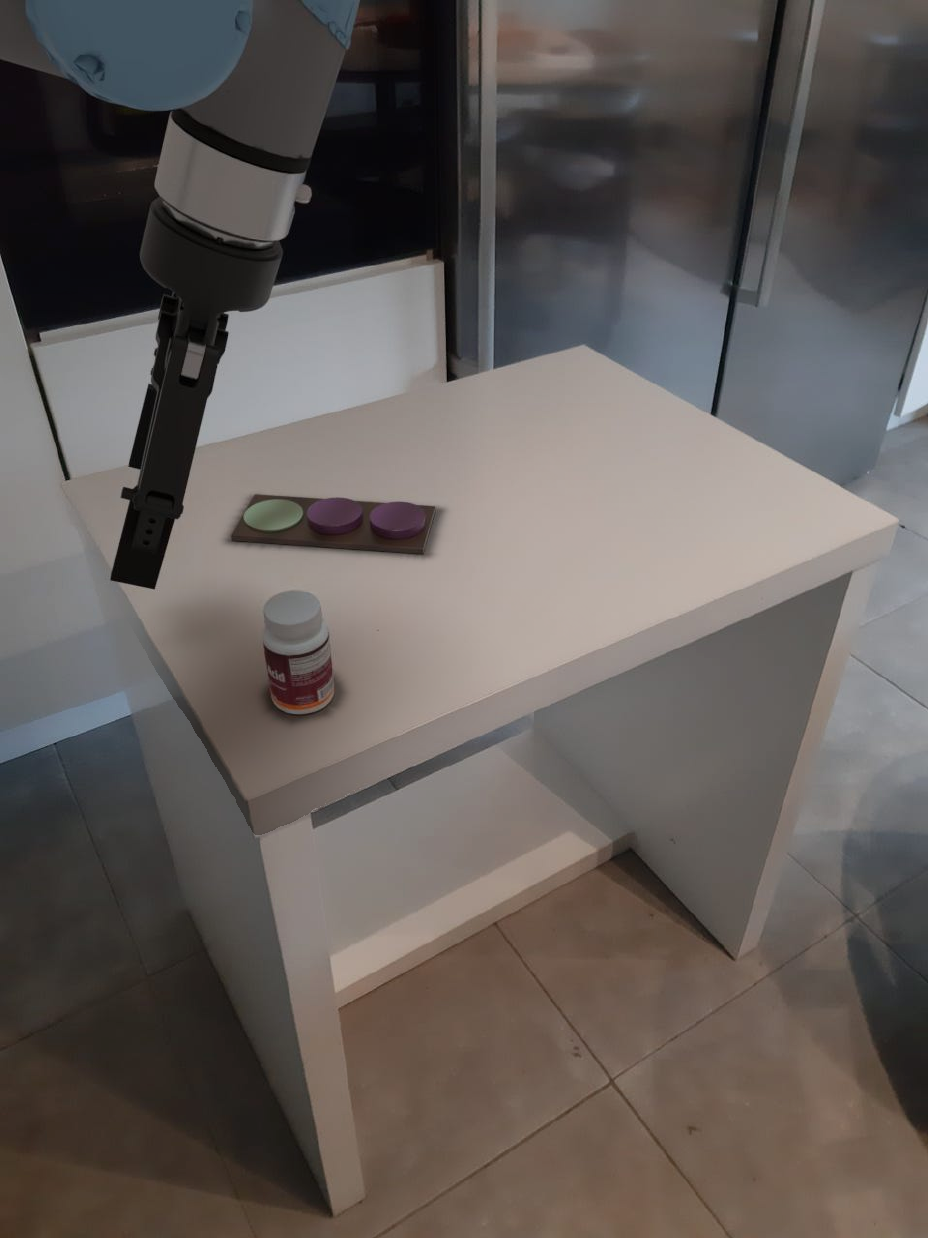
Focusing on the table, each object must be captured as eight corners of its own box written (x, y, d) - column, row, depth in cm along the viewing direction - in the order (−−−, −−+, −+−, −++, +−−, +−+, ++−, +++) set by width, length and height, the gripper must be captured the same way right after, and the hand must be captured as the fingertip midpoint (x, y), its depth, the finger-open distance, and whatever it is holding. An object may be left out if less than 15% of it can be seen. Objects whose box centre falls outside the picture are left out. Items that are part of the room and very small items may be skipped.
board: (231, 540, 91) (229, 526, 90) (255, 499, 97) (253, 485, 96) (423, 554, 89) (422, 539, 88) (435, 511, 95) (435, 496, 94)
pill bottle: (262, 686, 75) (248, 597, 70) (321, 667, 77) (311, 579, 71) (283, 724, 71) (269, 634, 66) (344, 704, 73) (335, 614, 68)
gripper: (296, 331, 47) (190, 652, 59) (278, 177, 66) (201, 443, 77) (135, 279, 44) (57, 627, 56) (165, 134, 63) (102, 417, 75)
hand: (140, 521), depth 67 cm, fingers open, 13 cm apart
